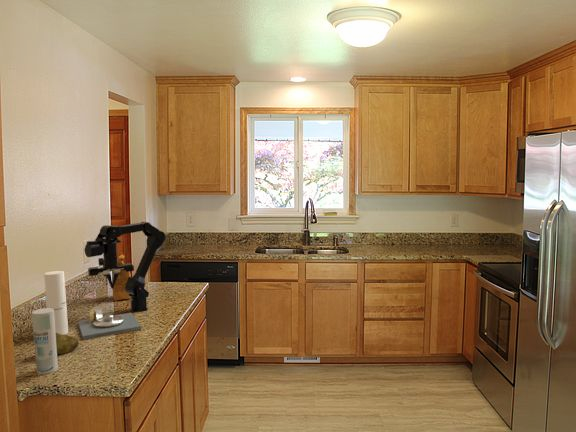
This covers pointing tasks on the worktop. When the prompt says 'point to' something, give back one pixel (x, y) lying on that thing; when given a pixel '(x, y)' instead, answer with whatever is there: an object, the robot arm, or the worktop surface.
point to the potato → (65, 343)
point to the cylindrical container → (57, 299)
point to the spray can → (45, 340)
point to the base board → (93, 332)
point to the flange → (105, 319)
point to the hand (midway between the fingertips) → (112, 288)
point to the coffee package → (121, 283)
